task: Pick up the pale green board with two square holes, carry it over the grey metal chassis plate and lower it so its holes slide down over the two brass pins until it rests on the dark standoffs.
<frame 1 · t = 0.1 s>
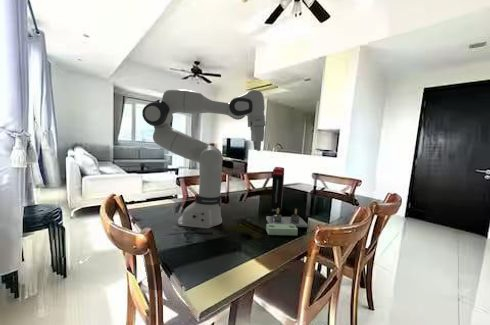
hand: (257, 150, 115), 39 cm above the table, tool pointing down, fingers open, 8 cm apart
board: (281, 232, 108), on the table
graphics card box: (276, 210, 144), on the table
chassis: (285, 222, 122), on the table
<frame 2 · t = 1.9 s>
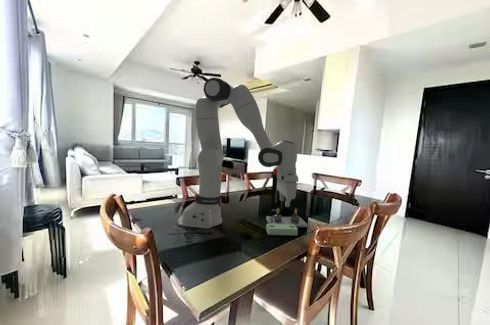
hand: (284, 203, 107), 15 cm above the table, tool pointing down, fingers open, 8 cm apart
nothing on the table moved.
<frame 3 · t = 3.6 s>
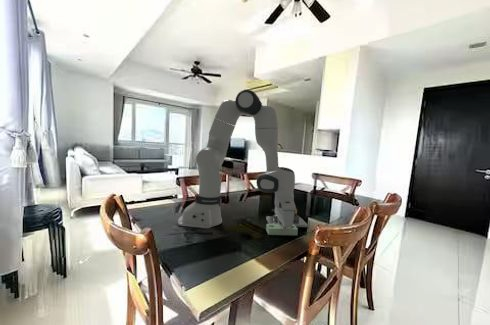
hand: (281, 229, 108), 2 cm above the table, tool pointing down, fingers closed on board, 6 cm apart
board: (281, 232, 108), on the table, touching gripper
everything else where it was.
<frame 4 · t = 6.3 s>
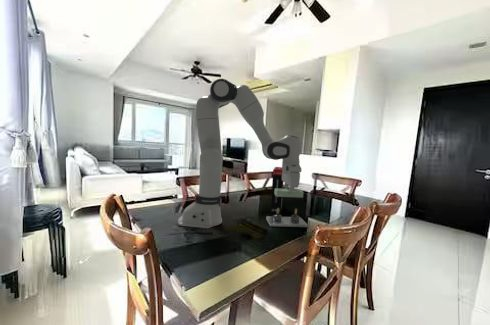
hand: (288, 192, 118), 17 cm above the table, tool pointing down, fingers closed on board, 6 cm apart
board: (288, 195, 118), point 16 cm above the table, touching gripper
everything else where it was.
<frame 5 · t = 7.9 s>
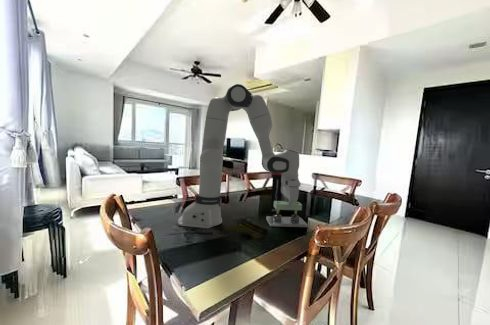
hand: (287, 205, 121), 10 cm above the table, tool pointing down, fingers closed on board, 6 cm apart
board: (287, 208, 121), point 8 cm above the table, touching gripper
everything else where it was.
when the fingers open (7 cm above the table, at t = 9.0 s): board stays where it is, resting on chassis.
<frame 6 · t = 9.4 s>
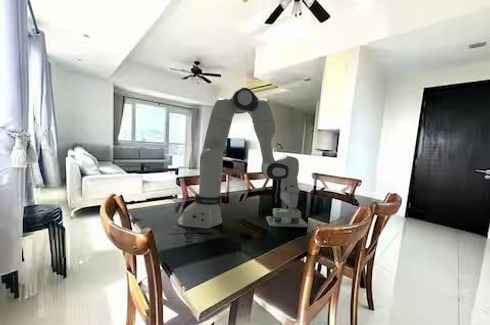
hand: (286, 210, 121), 7 cm above the table, tool pointing down, fingers open, 8 cm apart
board: (286, 215, 121), point 4 cm above the table, touching chassis
everything else where it was.
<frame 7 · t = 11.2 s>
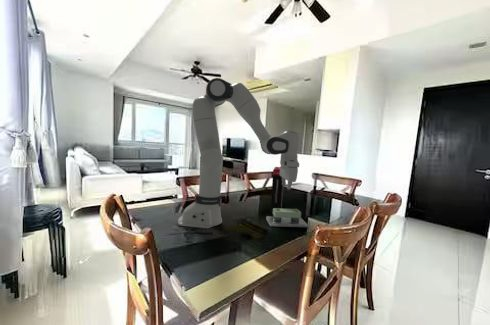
hand: (286, 187, 120), 20 cm above the table, tool pointing down, fingers open, 8 cm apart
nothing on the table moved.
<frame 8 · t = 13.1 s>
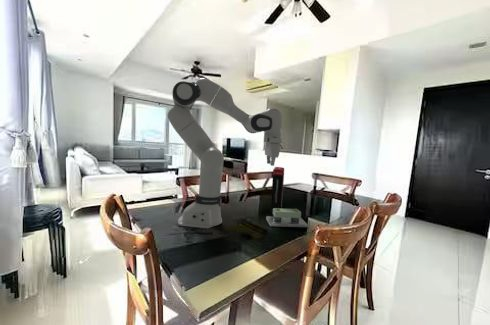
hand: (270, 164, 122), 31 cm above the table, tool pointing down, fingers open, 8 cm apart
nothing on the table moved.
at the end: board 0.1 cm off-centre on the chassis, point 4.0 cm above the chassis's base; board tilted 0°; the gripper is holding nothing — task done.
